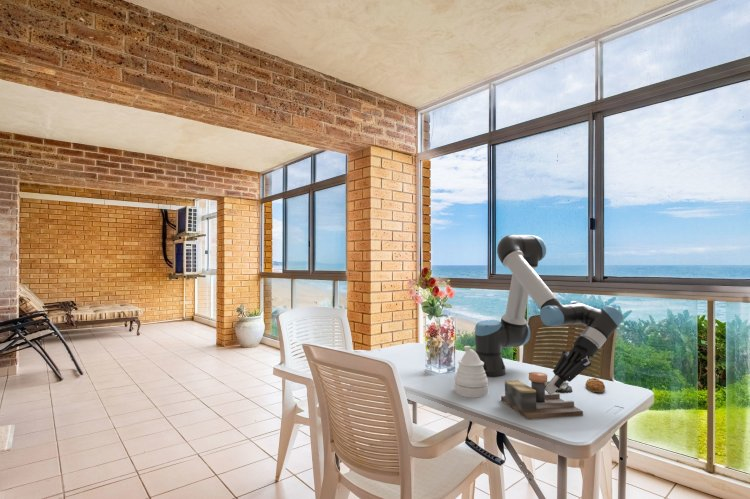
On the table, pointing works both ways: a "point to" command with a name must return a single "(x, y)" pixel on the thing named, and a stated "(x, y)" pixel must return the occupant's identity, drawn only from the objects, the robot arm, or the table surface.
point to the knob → (538, 385)
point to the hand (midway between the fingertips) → (548, 392)
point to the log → (562, 387)
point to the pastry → (595, 385)
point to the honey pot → (471, 376)
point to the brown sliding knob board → (526, 405)
